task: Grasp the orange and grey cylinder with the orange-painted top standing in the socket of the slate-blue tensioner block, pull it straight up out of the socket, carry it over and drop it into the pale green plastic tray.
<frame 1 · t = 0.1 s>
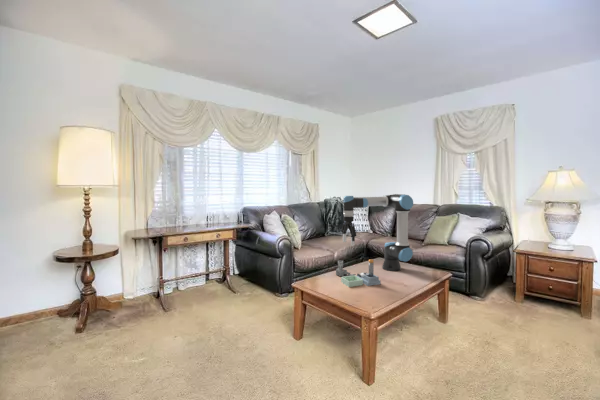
hand: (348, 243, 222), 28 cm above the table, fingers open, 13 cm apart
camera: (344, 276, 232), on the table
tensioner block: (367, 281, 219), on the table
orange and grey cylinder: (371, 279, 215), point 2 cm above the table, touching tensioner block
tray: (351, 283, 215), on the table
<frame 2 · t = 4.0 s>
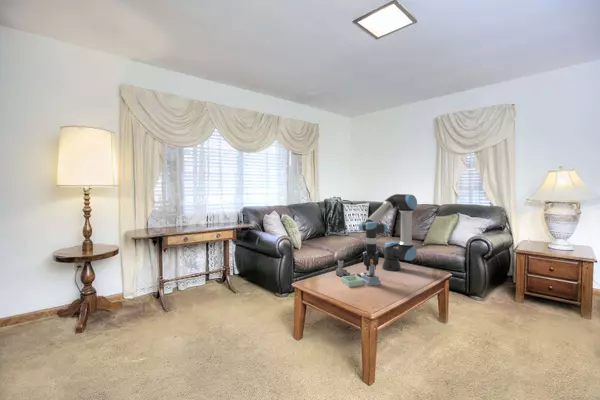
hand: (371, 274, 214), 7 cm above the table, fingers closed on orange and grey cylinder, 3 cm apart
orange and grey cylinder: (371, 279, 215), point 2 cm above the table, touching gripper, tensioner block
everything else where it was.
when the fingers open (6 cm above the table, at t = 11.3 s): orange and grey cylinder stays where it is, resting on tray.
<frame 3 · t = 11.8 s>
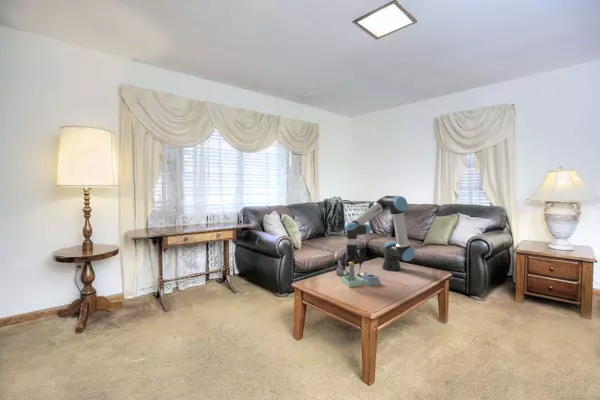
hand: (351, 273, 214), 7 cm above the table, fingers open, 10 cm apart
orange and grey cylinder: (351, 282, 215), point 1 cm above the table, touching tray
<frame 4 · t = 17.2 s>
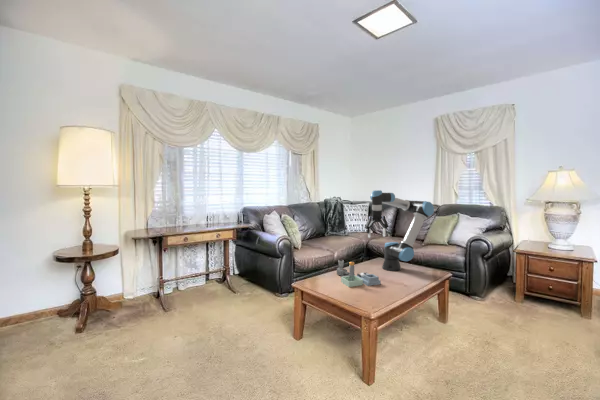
hand: (376, 237, 228), 32 cm above the table, fingers open, 13 cm apart
at the end: orange and grey cylinder inside the target area on the tray (0.0 cm from its centre), point 0.8 cm above the tray's base; the gripper is holding nothing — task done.
